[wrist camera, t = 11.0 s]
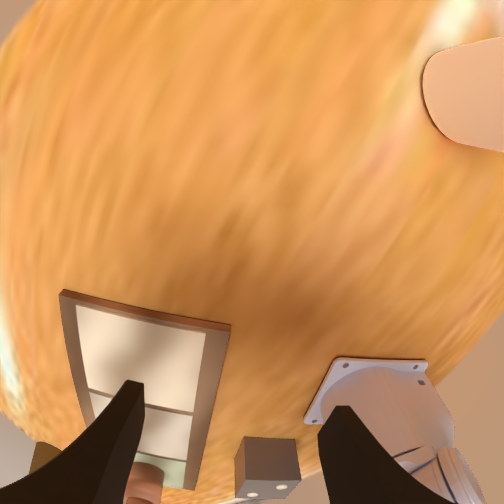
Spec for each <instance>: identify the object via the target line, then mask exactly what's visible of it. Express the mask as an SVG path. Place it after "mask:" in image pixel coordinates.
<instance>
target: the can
mask: <svg viewBox="0 0 504 504" xmlns="http://www.w3.org/2000/svg"><path fill="white" fill-rule="evenodd" d="M423 94H424V99H425V103H426V106H427V109H428V112H429V114H430V116H431V118H432V120H433V121H434V123H435V125H436V126H437V127H438V129H439V130H440V131H441V132H442V133H443V134H444V135H445V136H446V137H447V138H449V139H450V140H452V141H454V142H456V143H460V144H464V145H469V146H474V147H479V148H485V149H490V150H494V151H499V152H504V36H501V37H496V38H490V39H486V40H481V41H477V42H472V43H468V44H464V45H460V46H456V47H453V48H449V49H446V50H443V51H440V52H438V53H436V54H434V55H433V56H432V57H431V58H430V59H429V61H428V63H427V64H426V67H425V70H424V74H423Z"/></svg>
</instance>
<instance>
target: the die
mask: <svg viewBox="0 0 504 504" xmlns="http://www.w3.org/2000/svg"><path fill="white" fill-rule="evenodd" d="M300 481H301V474H300V468H299V462H298V456H297V450H296V444H295V439H276V438H259V437H246V436H244V437H243V440H242V442H241V445H240V447H239V450H238V452H237V455H236V457H235V498H249V499H285V498H286V497H287V496H288V495H289V494H290V493H291V491H292V490H293V489H294V488H295V487H296V486H297V485H298V484H299V483H300Z"/></svg>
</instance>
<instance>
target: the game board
mask: <svg viewBox="0 0 504 504" xmlns="http://www.w3.org/2000/svg"><path fill="white" fill-rule="evenodd" d="M59 302H60V310H61V318H62V325H63V331H64V337H65V343H66V348H67V353H68V358H69V363H70V368H71V372H72V377H73V381H74V385H75V389H76V393H77V396H78V400H79V404H80V407H81V411H82V414H83V418H84V421H85V424H86V427H87V428H88V427H89V426H90V425H91V424H92V422H93V421H94V420H95V419H96V418H97V417H98V416H99V414H100V413H101V412H102V411H103V410H104V409H105V407H106V406H107V405H108V404H109V402H110V401H111V400H112V399H113V397H114V396H115V395H116V393H117V392H118V391H119V389H120V388H121V386H122V385H123V383H124V382H125V381H126V380H132V381H137V382H141V383H144V398H145V419H144V424H143V430H142V435H141V439H140V443H139V446H138V449H137V452H136V455H135V459H134V462H144V463H148V464H152V465H154V466H157V467H158V468H160V469H162V470H163V471H164V473H165V475H164V481H163V486H166V487H172V488H178V489H188V490H195V487H196V482H197V478H198V473H199V469H200V464H201V460H202V455H203V451H204V446H205V442H206V437H207V433H208V428H209V424H210V419H211V415H212V411H213V406H214V402H215V397H216V393H217V388H218V384H219V379H220V375H221V371H222V366H223V362H224V357H225V353H226V348H227V344H228V340H229V335H230V325H227V324H221V323H215V322H209V321H204V320H198V319H193V318H187V317H182V316H177V315H172V314H167V313H162V312H157V311H152V310H147V309H143V308H138V307H134V306H129V305H125V304H121V303H116V302H112V301H108V300H104V299H100V298H96V297H92V296H88V295H84V294H80V293H76V292H72V291H69V290H65V289H63V290H62V292H61V293H60V294H59Z"/></svg>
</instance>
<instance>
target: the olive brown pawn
mask: <svg viewBox="0 0 504 504" xmlns="http://www.w3.org/2000/svg"><path fill="white" fill-rule="evenodd" d="M61 452H62V451H61V450H59V449H58V448H56V447H54V446H52V445H50V444H47V443H44V442H37V443H36V447H35V451H34V455H33V459H32V463H31V467H30V472H29V474H30V473H32V472H34V471H35V470H37V469H39V468H40V467H42V466H43V465H45V464H46V463H48V462H49V461H50V460H52V459H53V458H54V457H56V456H57V455H58V454H60V453H61Z"/></svg>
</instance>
